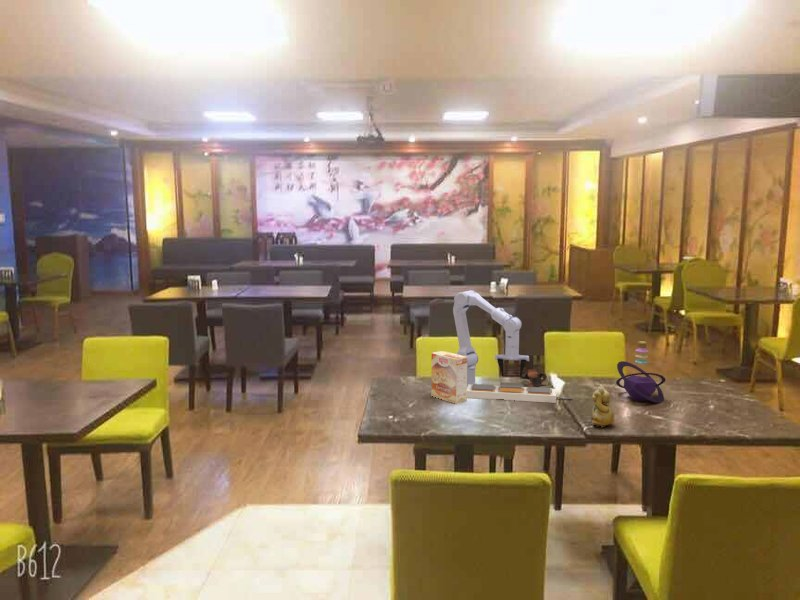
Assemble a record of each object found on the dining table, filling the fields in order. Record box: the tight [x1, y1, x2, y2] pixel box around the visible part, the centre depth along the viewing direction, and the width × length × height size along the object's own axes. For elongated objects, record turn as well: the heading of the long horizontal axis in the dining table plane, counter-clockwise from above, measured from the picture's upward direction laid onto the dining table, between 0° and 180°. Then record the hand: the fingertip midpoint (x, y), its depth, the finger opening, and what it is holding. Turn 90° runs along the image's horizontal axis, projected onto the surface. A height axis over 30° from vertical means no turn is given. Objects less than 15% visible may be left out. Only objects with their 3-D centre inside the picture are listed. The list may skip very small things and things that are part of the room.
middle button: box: [499, 381, 523, 392], centre depth 277 cm, size 9×7×2 cm
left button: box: [472, 383, 495, 392], centre depth 279 cm, size 9×7×2 cm
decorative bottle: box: [615, 340, 667, 404], centre depth 272 cm, size 22×21×25 cm
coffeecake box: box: [430, 350, 468, 405], centre depth 273 cm, size 15×7×20 cm, turn 42°
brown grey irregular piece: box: [519, 369, 548, 387], centre depth 296 cm, size 12×10×8 cm
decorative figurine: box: [591, 383, 615, 428], centre depth 240 cm, size 10×8×15 cm
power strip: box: [467, 384, 573, 404], centre depth 277 cm, size 45×11×3 cm, turn 79°
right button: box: [528, 386, 551, 395], centre depth 275 cm, size 9×7×2 cm
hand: (511, 376), depth 278 cm, fingers open, 7 cm apart
